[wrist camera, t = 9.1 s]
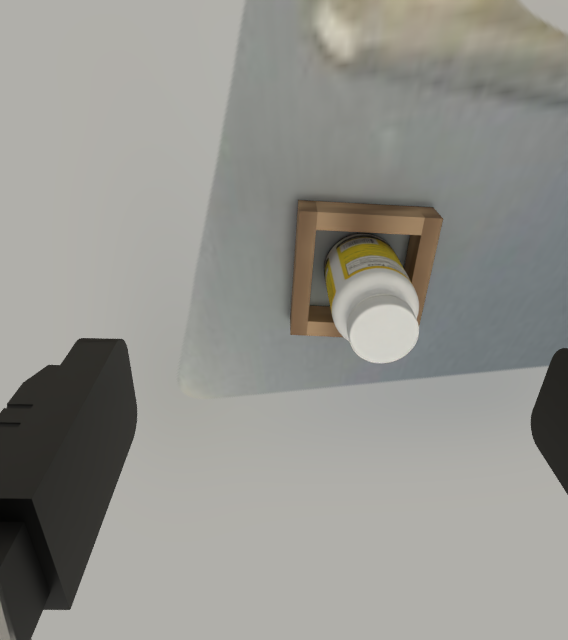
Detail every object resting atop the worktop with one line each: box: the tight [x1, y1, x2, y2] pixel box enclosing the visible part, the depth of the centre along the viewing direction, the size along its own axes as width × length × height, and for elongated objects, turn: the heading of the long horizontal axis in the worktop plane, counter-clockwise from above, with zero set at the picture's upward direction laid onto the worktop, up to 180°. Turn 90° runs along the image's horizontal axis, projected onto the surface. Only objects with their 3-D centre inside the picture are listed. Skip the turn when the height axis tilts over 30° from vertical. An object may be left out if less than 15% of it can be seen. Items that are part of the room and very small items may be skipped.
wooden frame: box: [290, 200, 443, 337], centre depth 35 cm, size 9×9×2 cm
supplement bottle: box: [324, 234, 419, 363], centre depth 32 cm, size 5×5×10 cm
